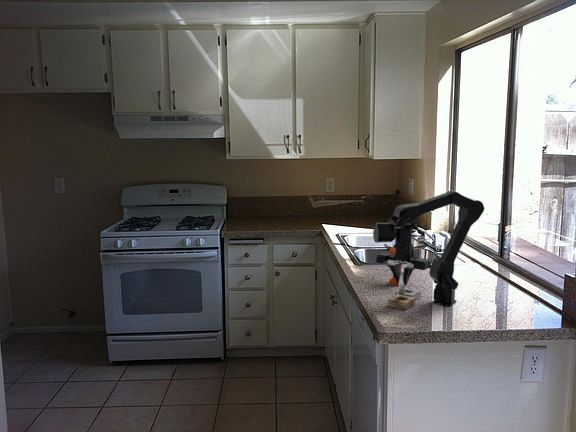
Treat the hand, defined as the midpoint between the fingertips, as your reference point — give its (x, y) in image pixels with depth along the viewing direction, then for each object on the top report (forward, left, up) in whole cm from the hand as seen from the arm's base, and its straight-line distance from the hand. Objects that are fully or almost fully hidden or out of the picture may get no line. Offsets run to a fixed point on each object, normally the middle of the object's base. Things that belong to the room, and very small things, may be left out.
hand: (402, 284), depth 183 cm
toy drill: (+17, -26, -8) cm, 32 cm away
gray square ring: (+2, -9, -8) cm, 12 cm away
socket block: (0, 0, -8) cm, 8 cm away
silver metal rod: (0, 0, -4) cm, 4 cm away
